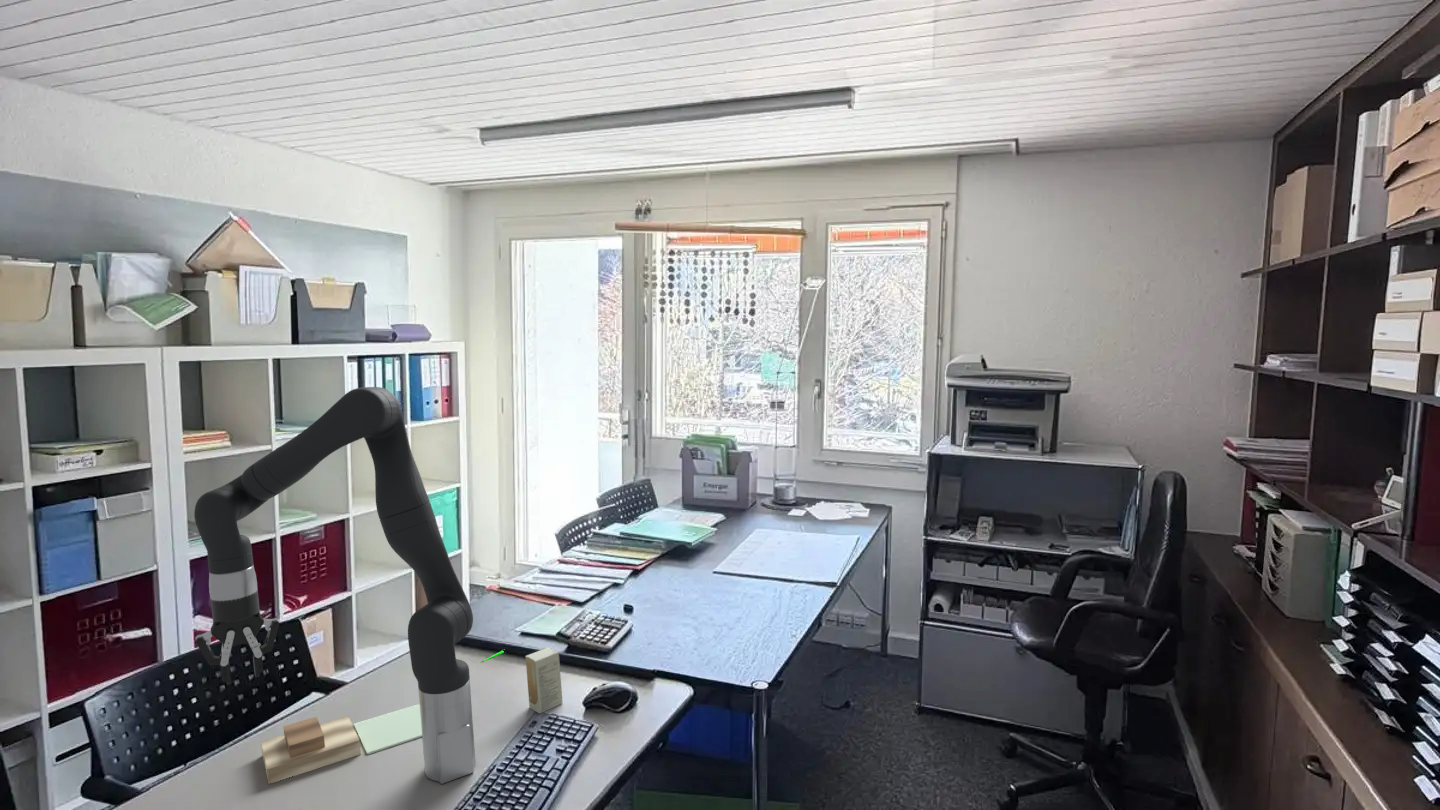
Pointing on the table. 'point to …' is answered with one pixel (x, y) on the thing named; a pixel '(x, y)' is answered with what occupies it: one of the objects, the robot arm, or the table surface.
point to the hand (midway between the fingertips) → (243, 678)
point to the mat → (390, 729)
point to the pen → (494, 655)
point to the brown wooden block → (303, 737)
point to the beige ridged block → (337, 748)
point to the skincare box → (544, 679)
